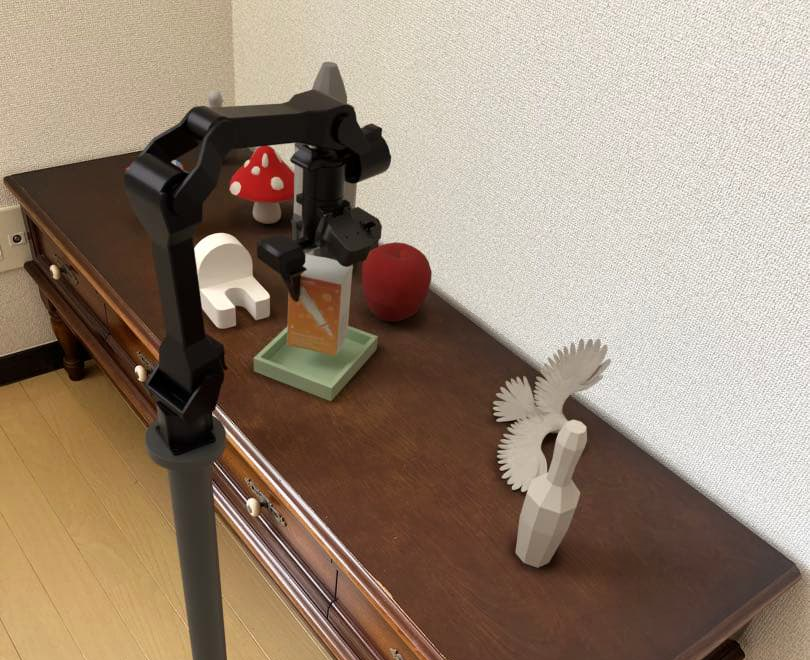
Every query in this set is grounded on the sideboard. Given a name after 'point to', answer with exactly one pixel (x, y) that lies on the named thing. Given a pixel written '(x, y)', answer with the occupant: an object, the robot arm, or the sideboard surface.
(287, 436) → the sideboard surface
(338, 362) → the tray
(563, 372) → the bird
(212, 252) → the white slotted holder
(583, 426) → the low poly bottle
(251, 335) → the sideboard surface
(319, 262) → the small box
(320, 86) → the toy rocket
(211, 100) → the figurine
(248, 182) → the decorative mushroom
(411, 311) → the apple
